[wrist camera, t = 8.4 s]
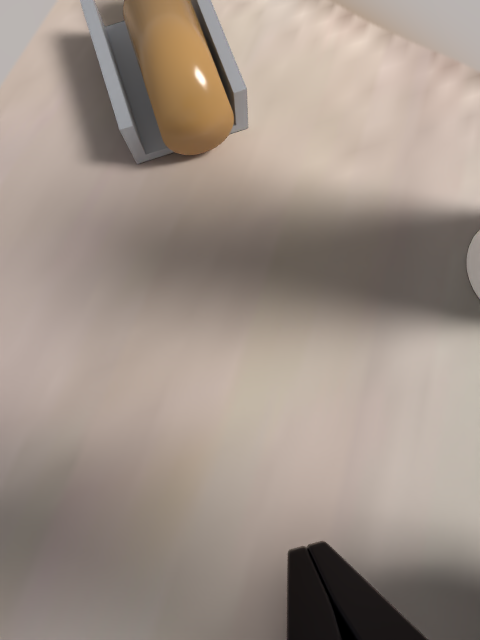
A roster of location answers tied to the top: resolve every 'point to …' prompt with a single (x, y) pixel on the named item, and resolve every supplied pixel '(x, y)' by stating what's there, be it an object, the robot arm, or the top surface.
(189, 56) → the amber bottle
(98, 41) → the grey cradle
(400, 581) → the top surface
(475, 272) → the cylindrical container
